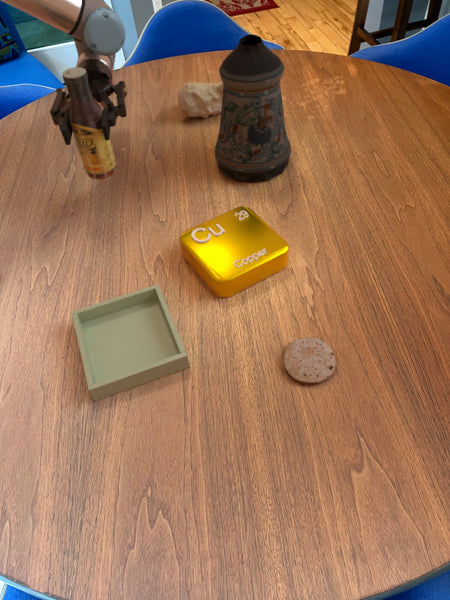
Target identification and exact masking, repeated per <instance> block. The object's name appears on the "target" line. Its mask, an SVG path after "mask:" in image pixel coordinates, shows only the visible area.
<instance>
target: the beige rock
mask: <svg viewBox="0 0 450 600" xmlns="http://www.w3.org/2000/svg"><path fill="white" fill-rule="evenodd" d="M222 96H223V82H222V80H221V79H219V82H218V83H217V82H210V83H209V82H207V83H206V82H196V81H195V82H186V83H184V84H182V85H181V87H180V89H179V90H178V92H177V103H178V105H179V108H180V109H181V110H182V111H184V112H185V113H186V114H187V115H188V116H189V117H190V118H200V117H202V118H203V119H208V117H209V116H211V115H212V116H216V115H220V114H221V108H222Z"/></svg>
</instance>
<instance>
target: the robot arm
mask: <svg viewBox="0 0 450 600" xmlns="http://www.w3.org/2000/svg"><path fill="white" fill-rule="evenodd" d="M0 1H1V2H3V3H5V4H7V5H9V6H11V7H13V8H15V9H17V10H19V11H20V12H23V13H25V14H27V15H29V16H31V17H32V18H35V19H37V20H39V21H41V22H42V23H45V24H47V25H48V26H49V25H50V26H51V27H53V28H55V29H57V30H59V31H61V32H63V33H65V34H67V35H68V36H70V37H72V38H73V42H74V46H75V49H76V52H77V62H76V65H75V67H81V68H84V69H85V70H86V72H87V75H88V84H89V87H90V91H91V93H92V96H93V98H94V99H95V100H96V101H97V102H98V103H99V104H100V106H101V108H102V111H103V114H102V124H101V127H102V131H103V134H104V138H105V140H110V141H111V128H112V127H115V126H116V125H117V119H118V117H120V118H126V117H127V116H128V113H127V107H126V97H127V96H128V92H127V87H126V86H127V85H126V83H125V80H120V81H118V83H114V82H113V80H114V68H115V61H116V58H117V57H116V54H117V53H118V52H119V51H120V50H121V49H122V48H123V46H124V45H125V41H126V28H125V25H124V23H123V21H122V20H121V17H120V15H119V14H118V13H117V11H115V10H113V8H112V7H111V6H110V5H108V3H107V2H106V1H105V0H0ZM113 83H114V84H113ZM55 93H56V95H55V97H54V100H53V103H52V105H51V108H50V110H49V114H50V116H51V119H52V122H53V125H54V126H58V128H59V131H60V133H61V135H62V138H63V141H64V144H65V146H70V145H71V143H72V137H73V131H72V127H71V124H70V98H69V93H68V89H66V90H65V89H63V88H62V87H58V88H56V89H55ZM113 94H115V95H116V103H117V105H115V104H114V101H112V100H111V99H110V96H112V95H113Z"/></svg>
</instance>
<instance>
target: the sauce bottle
mask: <svg viewBox="0 0 450 600" xmlns="http://www.w3.org/2000/svg"><path fill="white" fill-rule="evenodd" d="M62 80H63V83H64V85H65V86H66V90H68V93H69V100H70V124H71V127H72V131H73V132H72V135H73V137H74V141H75V143H76V146H77V150H78V153H79V156H80V159H81V162H82V166H83V169H84V170H85V173H86V174H87V177H89V178H90V179H92V180H99V181H100V180H106V179H108V178H111V177H112V176H113V175H114V174H115V173H116V171H117V161H116V156H115V153H114V149H113V146H112V141H111V139H110V140H105V138H104V134H103V131H102V127H101V124H102V114H103V107H102V106H101V104H100V103H98V102H97V101H96V100H95V99H94V98H93V96H92V93H91V91H90V87H89V84H88V75H87V72H86V70H85V69H84V68H81V67H76V66H74V67H70V68H67V69H65V70H64V71H63V72H62Z"/></svg>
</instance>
